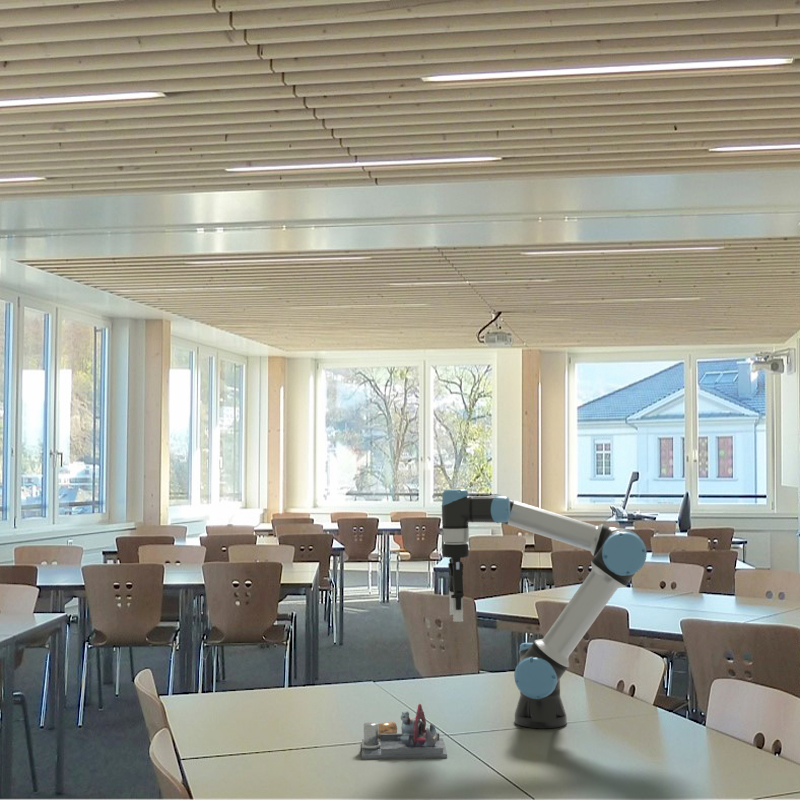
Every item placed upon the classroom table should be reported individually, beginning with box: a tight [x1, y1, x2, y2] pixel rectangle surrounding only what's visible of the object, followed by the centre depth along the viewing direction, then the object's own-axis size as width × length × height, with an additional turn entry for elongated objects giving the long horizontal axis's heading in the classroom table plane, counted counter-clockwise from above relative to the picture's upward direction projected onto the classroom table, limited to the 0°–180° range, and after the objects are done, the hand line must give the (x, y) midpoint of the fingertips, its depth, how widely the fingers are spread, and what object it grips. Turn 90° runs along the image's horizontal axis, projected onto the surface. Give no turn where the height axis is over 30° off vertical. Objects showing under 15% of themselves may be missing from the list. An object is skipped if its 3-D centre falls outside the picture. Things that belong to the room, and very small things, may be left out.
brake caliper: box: [398, 703, 438, 747], centre depth 288 cm, size 11×11×12 cm
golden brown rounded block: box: [379, 721, 398, 738], centre depth 302 cm, size 6×4×4 cm, turn 122°
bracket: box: [361, 721, 448, 760], centre depth 287 cm, size 22×16×7 cm
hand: (456, 618), depth 309 cm, fingers open, 13 cm apart
